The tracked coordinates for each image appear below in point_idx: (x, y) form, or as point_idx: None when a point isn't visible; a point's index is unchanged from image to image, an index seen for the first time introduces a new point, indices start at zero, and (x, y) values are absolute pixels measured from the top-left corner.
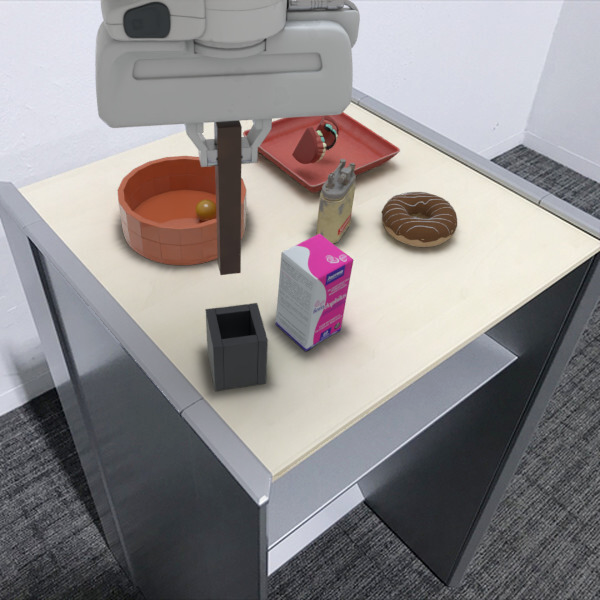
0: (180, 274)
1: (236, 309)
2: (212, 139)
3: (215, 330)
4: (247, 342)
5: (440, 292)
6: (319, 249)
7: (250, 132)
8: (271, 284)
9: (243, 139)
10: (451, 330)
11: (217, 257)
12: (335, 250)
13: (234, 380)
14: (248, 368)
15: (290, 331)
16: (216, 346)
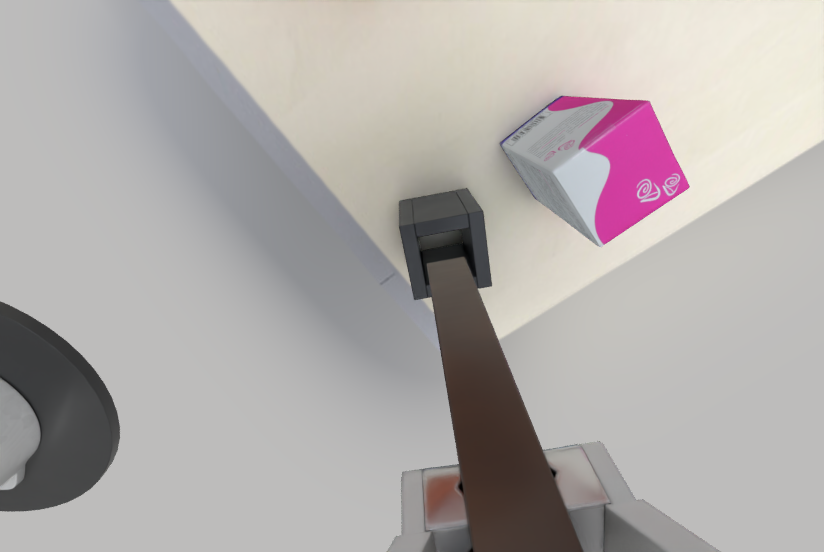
0: (338, 6)
1: (448, 227)
2: (460, 524)
3: (416, 270)
4: None
5: (797, 58)
6: (632, 161)
7: (632, 538)
8: (504, 36)
9: (587, 518)
10: (764, 153)
11: (427, 270)
12: (664, 161)
13: None
14: None
15: (521, 175)
16: (418, 298)
